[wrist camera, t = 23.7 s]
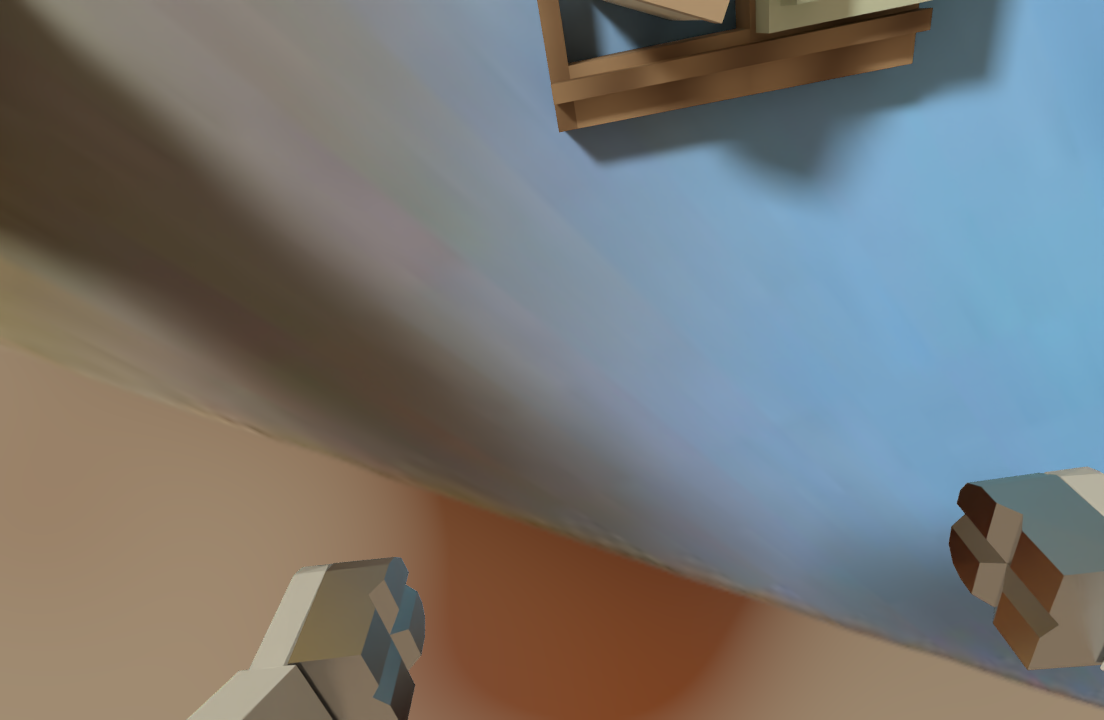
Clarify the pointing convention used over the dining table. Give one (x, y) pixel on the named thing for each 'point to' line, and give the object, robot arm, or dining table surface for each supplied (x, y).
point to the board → (721, 63)
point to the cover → (815, 11)
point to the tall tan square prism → (679, 8)
